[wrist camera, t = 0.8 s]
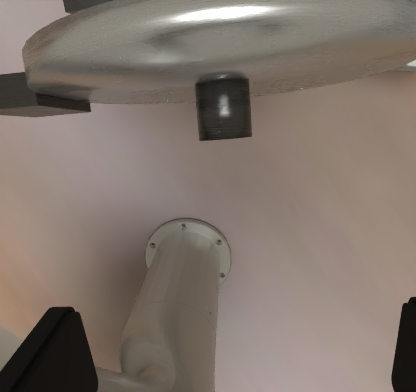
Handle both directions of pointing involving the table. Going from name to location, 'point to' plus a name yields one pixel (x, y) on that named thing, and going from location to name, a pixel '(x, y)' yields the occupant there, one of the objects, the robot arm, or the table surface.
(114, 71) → the cooker lid
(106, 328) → the table surface
